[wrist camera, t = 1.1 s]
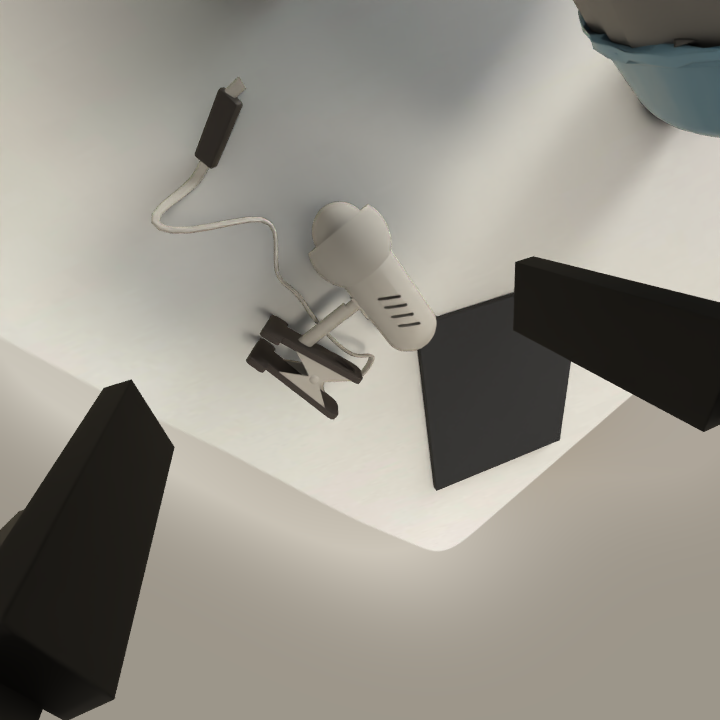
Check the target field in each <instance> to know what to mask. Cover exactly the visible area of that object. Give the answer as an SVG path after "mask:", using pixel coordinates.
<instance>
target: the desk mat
mask: <svg viewBox="0 0 720 720" xmlns="http://www.w3.org/2000/svg"><path fill="white" fill-rule="evenodd" d="M513 318H514V293H512V294H509V295H505V296H502V297H499V298H496V299H493V300H490V301H487V302H483V303H480V304H477V305H474V306H471V307H468V308H464V309H461V310H458V311H455V312H452V313H449V314H445V315H442V316H439V317H436V330H435V333H434V335H433V337H432V339H431V340H430V341H429V343H428V344H426V345H425V346H424V347H422V348H421V349H418V355H419V363H420V372H421V380H422V389H423V397H424V405H425V414H426V422H427V431H428V439H429V448H430V456H431V465H432V473H433V482H434V488H435V489H436V491H437V490H440V489H442V488H445V487H447V486H449V485H452V484H454V483H457V482H459V481H462V480H464V479H466V478H469V477H471V476H474V475H476V474H479V473H481V472H483V471H486V470H488V469H491V468H493V467H496V466H498V465H500V464H503V463H505V462H508V461H510V460H513V459H515V458H517V457H520V456H522V455H525V454H527V453H530V452H532V451H534V450H537V449H539V448H542V447H544V446H547V445H549V444H551V443H554V442H556V441H559V440H560V434H561V427H562V420H563V413H564V406H565V399H566V392H567V385H568V378H569V371H570V364H571V361H570V360H568V359H566V358H564V357H562V356H560V355H558V354H556V353H555V352H553V351H551V350H549V349H547V348H545V347H543V346H541V345H540V344H538V343H536V342H534V341H532V340H530V339H528V338H526V337H525V336H523V335H521V334H519V333H517V332H515V331H513Z"/></svg>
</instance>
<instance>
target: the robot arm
mask: <svg viewBox="0 0 720 720" xmlns="http://www.w3.org/2000/svg"><path fill="white" fill-rule="evenodd" d="M573 1H574V3H575V4H576V6H577V8H578V15H579V19H580V23H581V27H582V30H583V32H584V33H585V34H586V35H587V37H588V38H589V39H590V40H591V42H592V46H593V49H594V50H596V51H597V52H599V53H600V54H602V55H604V56H605V57H607V58H609V59H611V60H612V61H613V62H614V64H615V65H616V67H617V68H618V70H619V71H620V73H621V74H622V76H623V77H624V78H625V80H626V81H627V83H628V84H629V86H630V87H631V89H632V90H633V92H634V93H635V94H636V96H637V97H638V99H639V100H640V101H641V103H642V104H643V105H644V107H645V108H647V109H648V110H649V111H650V112H651V113H652V114H654V115H655V116H656V117H657V118H659V119H661V120H662V121H664V122H666V123H668V124H670V125H672V126H674V127H677V128H679V129H682V130H685V131H689V132H693V133H696V134H701V135H706V136H711V137H719V138H720V0H573ZM513 331H515V332H517V333H519V334H521V335H523V336H525V337H526V338H528V339H530V340H532V341H534V342H536V343H538V344H540V345H541V346H543V347H545V348H547V349H549V350H551V351H553V352H555V353H556V354H558V355H560V356H562V357H564V358H566V359H568V360H570V361H571V362H573V363H575V364H577V365H579V366H581V367H583V368H585V369H586V370H588V371H590V372H592V373H594V374H596V375H598V376H600V377H601V378H603V379H605V380H607V381H609V382H611V383H613V384H615V385H616V386H618V387H620V388H622V389H624V390H626V391H628V392H630V393H631V394H633V395H635V396H637V397H639V398H641V399H643V400H645V401H646V402H648V403H650V404H652V405H654V406H656V407H658V408H660V409H662V410H663V411H665V412H667V413H669V414H671V415H673V416H675V417H676V418H679V419H680V420H682V421H684V422H686V423H688V424H690V425H691V426H693V427H695V428H697V429H699V430H701V431H703V432H705V431H707V430H709V429H711V428H714V427H716V426H718V425H720V302H716V301H712V300H708V299H704V298H700V297H696V296H692V295H688V294H684V293H680V292H675V291H671V290H667V289H663V288H659V287H655V286H651V285H647V284H643V283H639V282H635V281H631V280H627V279H623V278H619V277H615V276H611V275H607V274H603V273H599V272H595V271H591V270H586V269H582V268H578V267H574V266H570V265H566V264H562V263H558V262H554V261H550V260H546V259H542V258H538V257H534V256H533V257H530V258H527V259H523V260H520V261H517V262H515V288H514V318H513ZM173 451H174V446H173V444H172V443H171V441H170V439H169V438H168V436H167V435H166V433H165V432H164V430H163V428H162V427H161V425H160V424H159V422H158V420H157V419H156V417H155V416H154V414H153V413H152V411H151V409H150V408H149V406H148V405H147V403H146V402H145V400H144V398H143V397H142V395H141V394H140V392H139V390H138V389H137V387H136V386H135V384H134V383H133V381H132V379H131V380H128V381H125V382H122V383H118V384H115V385H112V386H109V387H105V388H103V390H102V391H101V393H100V395H99V396H98V398H97V399H96V401H95V402H94V404H93V405H92V407H91V408H90V410H89V412H88V413H87V415H86V416H85V418H84V419H83V421H82V422H81V424H80V425H79V427H78V428H77V430H76V431H75V433H74V434H73V436H72V438H71V439H70V441H69V442H68V444H67V445H66V447H65V448H64V450H63V451H62V453H61V454H60V456H59V457H58V459H57V460H56V462H55V464H54V465H53V467H52V468H51V470H50V471H49V473H48V474H47V476H46V477H45V479H44V481H43V482H42V483H41V485H40V487H39V488H38V490H37V491H36V493H35V494H34V496H33V497H32V499H31V500H30V502H29V503H28V505H27V506H26V508H25V509H24V510H22V511H19V512H18V513H17V514H16V515H15V516H14V517H13V518H12V519H11V520H10V521H9V522H8V523H7V524H6V525H5V526H4V527H3V528H2V529H1V530H0V720H39V718H40V715H41V712H42V710H43V709H44V710H45V711H47V712H49V713H51V714H53V715H55V716H57V717H59V718H61V719H62V720H69V719H72V718H74V717H76V716H79V715H81V714H83V713H85V712H87V711H90V710H92V709H94V708H96V707H98V706H101V705H103V704H105V703H107V702H109V701H112V700H114V698H115V694H116V690H117V686H118V681H119V677H120V673H121V668H122V665H123V661H124V657H125V652H126V648H127V644H128V640H129V635H130V631H131V627H132V623H133V618H134V614H135V610H136V606H137V602H138V598H139V594H140V589H141V585H142V581H143V577H144V572H145V568H146V564H147V560H148V556H149V552H150V547H151V543H152V539H153V535H154V530H155V527H156V522H157V518H158V514H159V509H160V505H161V501H162V497H163V493H164V488H165V485H166V481H167V476H168V472H169V467H170V464H171V460H172V455H173Z"/></svg>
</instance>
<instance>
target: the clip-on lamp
mask: <svg viewBox="0 0 720 720" xmlns="http://www.w3.org/2000/svg"><path fill="white" fill-rule="evenodd" d="M245 89H246V88H245V86H244V84H243V83H242V81H241V79H240V77H238V78H237V79H235V80H234V81H233V82H232V83H231V84H230V85H229V86H228V87H227V88H224V87H223V88H220V89H219V90H218V92H217V95H216V98H215V100H214V103H213V106H212V109H211V111H210V114H209V117H208V119H207V122H206V125H205V127H204V130H203V133H202V135H201V138H200V141H199V143H198V146H197V149H196V152H195V156H196V157H197V158H198V159H199V160H200V161H199V164H198V166H197V168H196V170H195V171H194V173H193V174H192V176H191V177H190V178H189V179H188V180H187V181H186V182H185V183H184V184H183V185H182V186H181V187H180V188H179V189H178V190H176V191H175V192H174V193H173V194H171V195H170V196H169V197H168V198H167V199H165V200H164V201H163V202H162V203H161V204H160V205H159V206H158V207H157V208H156V209H155V211H154V212H153V213H152V220H151V223H152V224H153V225H154V226H155V227H156V228H157V229H158V230H161V231H165V232H168V233H194V232H201V231H207V230H213V229H217V228H222V227H227V226H232V225H237V224H243V223H249V222H262V223H264V224H267V225H269V227H270V228H271V230H272V232H273V238H274V268H275V273H276V275H277V278H278V279H279V281H280V282H281V283H282V284H283V285H284V286H285V287H286V288H288V289H289V290H290V291H291V292H292V293H294V294H295V295H296V297H297V298H298V299H299V300H300V302H301V303H302V305H303V306H304V308H305V309H306V311H307V312H308V314H309V315H310V316H311V318H312V319H313V320H314V322H315V323H316V324H317V325H315V326H314V327H313V328H312V329H310V330H309V331H308V332H307V333H305V334H304V335H301V334H299V333H297V332H296V331H294V330H292V329H290V328H288V327H287V326H288V324H287V323H286V322H285V321H283V320H282V319H280V318H278V317H277V316H275V315H272V316H271V317H270V319H269V320H268V322H267V323H266V325H265V326H264V328H263V329H262V331H261V332H260V335H261V336H262V337H263V338H265V339H267V340H268V341H270V342H272V343H273V344H275V345H279V343H282V344H284V345H286V346H287V347H289V348H291V349H293V350H295V351H296V352H297V354H298V356H299V358H300V359H301V361H302V362H299V361H292V360H286V359H283V358H282V357H280V356H279V355H278V354H277V353H275V352H274V351H275V348H274V346H272V345H271V344H270V343H268V342H267V341H266V340H264V339H262V338H260V339H259V341H258V342H257V343H256V345H255V347H254V348H253V350H252V351H251V353H250V354H249V356H248V358H247V359H246V362H247V363H248V364H249V365H251V366H252V367H253V368H255V369H256V370H258V371H259V372H262V373H263V372H264V371H265V370H267V371H268V372H270V373H271V374H272V375H273V376H275V377H276V378H277V379H279V380H280V381H281V382H283V383H284V384H285V385H286V386H288V387H289V388H290V389H292V390H293V391H294V392H296V393H297V394H298V395H299V396H301V397H302V398H303V399H305V400H306V401H307V402H309V403H310V404H311V405H312V406H314V407H315V408H316V409H318V410H319V411H320V412H321V413H323V414H324V415H325V416H327V417H328V418H330V419H335V418H336V417H337V416H338V405H337V403H336V401H335V400H334V399H333V398H332V397H331V396H329V395H328V394H327V393H326V392H325V391H324V387H323V384H324V382H338V381H352V382H354V383H356V384H359V383H360V382H361V380H362V379H363V377H362V376H364V375H365V374H366V373H367V371H368V370H369V369H370V367H371V366H372V364H373V362H374V356H373V355H371V354H355V353H353V352H351V351H349V350H347V349H346V348H344V347H343V346H342V345H341V344H339V343H338V342H337V341H336V340H335V339H334V338H333V337H332V336H331V335H330V334H329V332H331V331H332V330H333V329H334V328H336V327H337V326H338V325H339V324H341V323H342V322H343V321H344V320H346V319H348V318H349V317H350V316H351V315H353V314H354V313H355V312H356V311H358V310H360V311H361V312H362V313H363V315H364V316H365V317H366V318H367V319H370V320H371V321H372V323H373V324H374V325H375V326H376V328H377V329H378V330H379V331H380V333H381V334H382V335H383V336H384V338H385V339H386V340H387V341H388V343H389V344H390V345H391V346H392V347H393V348H395V349H397V350H400V351H415V350H418V349H421V348H422V347H424V346H425V345H426V344H428V343H429V341H430V340H431V339H432V337H433V335H434V333H435V330H436V316H435V314H434V312H433V311H432V310H431V308H430V307H429V305H428V304H427V302H426V301H425V299H424V298H423V296H422V295H421V293H420V292H419V290H418V289H417V288H416V286H415V285H414V283H413V282H412V280H411V279H410V277H409V276H408V274H407V273H406V271H405V270H404V268H403V267H402V266H401V264H400V263H399V261H398V260H397V258H396V257H395V255H394V254H393V252H392V251H391V247H392V243H391V235H390V231H389V228H388V226H387V224H386V222H385V220H384V218H383V217H382V216H381V214H380V213H379V212H378V211H377V210H376V209H375V208H373V207H372V206H370V205H369V204H367V205H366V206H365V207H363V208H362V209H361V210H359V209H358V208H357V207H355V206H353V205H352V204H349V203H346V202H333V203H330V204H328V205H326V206H324V207H323V208H322V209H321V210H320V211H319V212H318V214H317V215H316V217H315V219H314V222H313V226H312V237H313V241H314V244H315V246H316V247H315V248H314V249H313V250H312V251H311V252H310V253H309V258H310V261H311V263H312V265H313V267H314V268H315V270H316V271H317V272H318V273H319V274H320V276H321V277H323V278H324V279H325V280H326V281H328V282H330V283H332V284H334V285H336V286H339V287H344V288H345V289H346V291H347V292H348V293H349V294H350V296H351V297H350V298H351V301H349V302H348V303H347V304H346V305H345V304H344V303H343V304H342V305H340V306H339V307H338V308H337V309H335V310H334V311H333V312H332V313H330V314H329V315H328V316H327V317H325V318H324V319H323V320H322V321H320V322H319V321H318V320H317V318H316V317H315V315H314V314H313V313H312V311H311V310H310V308H309V307H308V305H307V303H306V302H305V301H304V299H303V298H302V296H301V295H300V294H299V293H298V292H297V291H296V290H295V289H294V288H293V287H291V286H290V285H289V284H288V283H287V282H285V281H284V280H283V278H282V277H281V275H280V272H279V266H278V239H277V233H276V229H275V228H274V226H273V224H272V222H270V221H268V220H266V219H265V218H263V217H244V218H237V219H230V220H225V221H220V222H215V223H210V224H204V225H197V226H191V227H171V226H166V225H163V224H162V223H161V222H160V219H161V216H162V215H163V214H164V213H165V212H166V211H167V210H168V209H169V208H170V207H171V206H173V205H174V204H175V203H177V202H178V201H179V200H181V199H182V198H183V197H184V196H186V195H187V194H188V193H190V192H191V191H192V190H193V189H194V188H195V187H196V186H197V185H198V184H199V183H200V182H201V180H202V179H203V177H204V176H205V174H206V173H207V171H208V168H214V167H216V166H217V164H218V162H219V160H220V157H221V155H222V152H223V150H224V148H225V145H226V143H227V141H228V138H229V136H230V134H231V131H232V129H233V127H234V124H235V122H236V120H237V117H238V115H239V112H240V110H241V108H242V102H241V101H240V100H239V99H238V98H237V96H238V95H239V94H241V93H242V92H243V91H244V90H245ZM325 335H327V337H328V338H329V339H330V340H331V341H332V342H333V343H335V344H336V345H337V346H338V347H339V348H340V349H341V350H343V351H344V352H346V353H347V354H349V355H351V356H354V357H361V358H362V357H369V359H368V361H367V363H366V365H365V366H364V368H363V369H362V370H360V369H359V368H358V367H357V366H356V365H354V364H353V363H351V362H350V361H348V360H346V359H344V358H342V357H341V356H339V355H337V354H335V353H333V352H332V351H330V350H328V349H326V348H324V347H323V346H321V345H319V344H317V342H318V341H319V340H320V339H322V338H323V337H324V336H325Z"/></svg>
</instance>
